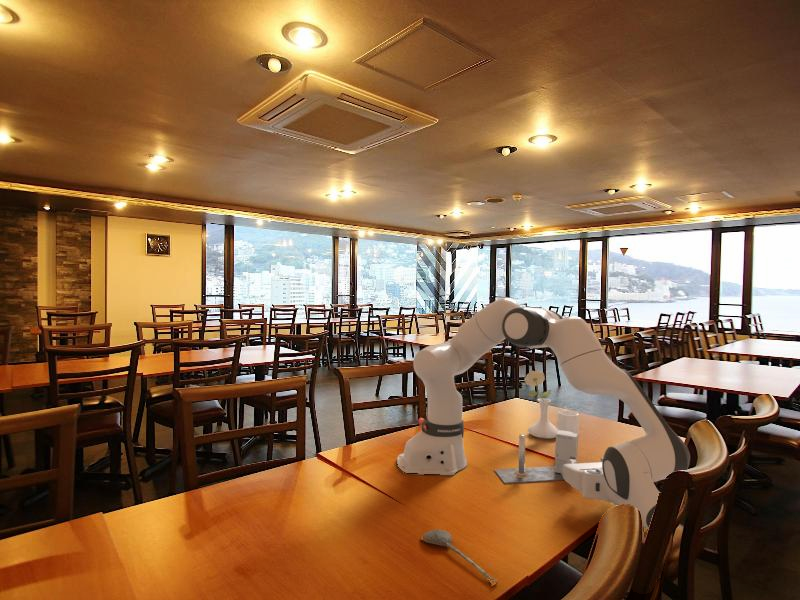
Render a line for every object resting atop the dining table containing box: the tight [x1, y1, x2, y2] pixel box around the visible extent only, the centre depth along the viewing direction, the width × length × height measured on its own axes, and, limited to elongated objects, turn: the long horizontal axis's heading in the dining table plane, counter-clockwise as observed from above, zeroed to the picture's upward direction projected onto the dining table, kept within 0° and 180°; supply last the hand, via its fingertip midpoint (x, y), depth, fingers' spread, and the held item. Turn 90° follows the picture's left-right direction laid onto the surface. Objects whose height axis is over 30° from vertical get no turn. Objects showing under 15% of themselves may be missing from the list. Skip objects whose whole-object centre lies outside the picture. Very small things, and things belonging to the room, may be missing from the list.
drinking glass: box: [556, 409, 580, 434], centre depth 150 cm, size 7×7×15 cm
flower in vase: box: [524, 370, 558, 440], centre depth 169 cm, size 13×11×25 cm
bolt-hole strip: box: [493, 465, 565, 485], centre depth 137 cm, size 26×9×1 cm, turn 97°
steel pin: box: [516, 433, 527, 477], centre depth 135 cm, size 3×3×12 cm
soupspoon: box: [422, 529, 498, 583], centre depth 96 cm, size 22×3×7 cm
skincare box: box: [554, 430, 579, 474], centre depth 137 cm, size 6×4×12 cm
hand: (587, 461), depth 125 cm, fingers open, 8 cm apart
